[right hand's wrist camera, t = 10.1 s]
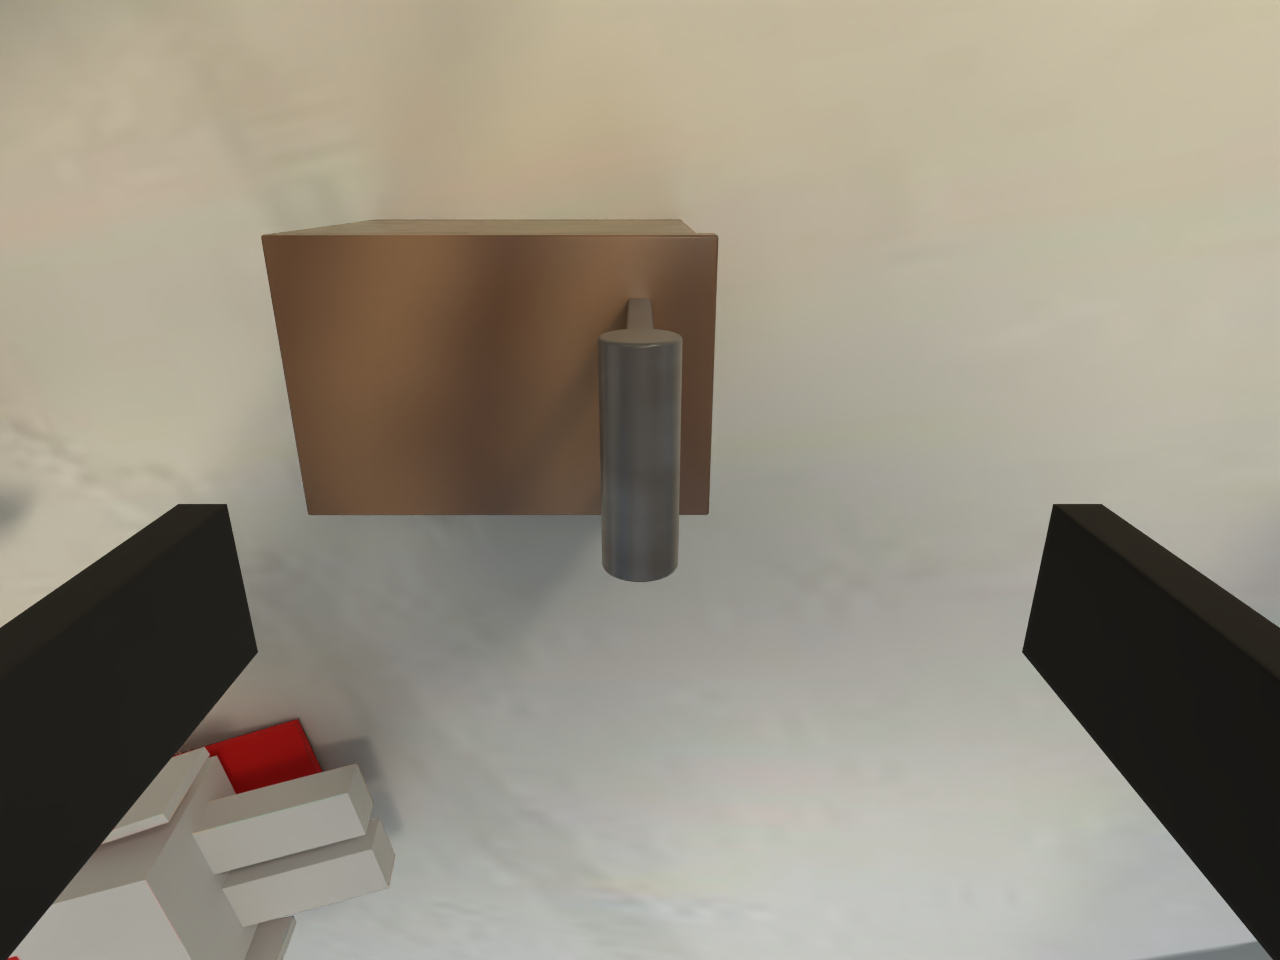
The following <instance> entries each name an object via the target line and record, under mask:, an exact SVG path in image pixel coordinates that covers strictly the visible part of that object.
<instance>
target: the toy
mask: <svg viewBox="0 0 1280 960" xmlns="http://www.w3.org/2000/svg"><path fill="white" fill-rule="evenodd" d="M373 804H374V803H373V801H372V798H371V796H370V793H369V791H368V789H367V786H366V784H365V782H364V779H363V777H362V774H361V772H360V770H359V767H358V765H357V763H355V764H351V765H348V766H344V767H340V768H336V769H332V770H328V771H324V772H323V771H322V769H321V767H320V765H319V763H318V761H317V759H316V757H315V754H314V752H313V750H312V748H311V746H310V744H309V742H308V740H307V737H306V735H305V733H304V731H303V729H302V727H301V725H300V723H299V721H298V719H297V720H293V721H290V722H286V723H283V724H280V725H276V726H273V727H269V728H266V729H262V730H259V731H256V732H252V733H249V734H245V735H242V736H239V737H235V738H232V739H228V740H225V741H222V742H218V743H215V744H211V745H208V746H204V747H201V748H198V749H194V750H191V751H187V752H184V753H181V754H177V755H174V756H173V757H172V758H171V759H170V760H169V762H168V763H167V764H166V765H165V767H164V768H163V769H162V770H161V771H160V773H159V774H158V775H157V776H156V778H155V779H154V780H153V781H152V782H151V784H150V785H149V786H148V787H147V789H146V790H145V791H144V792H143V794H142V795H141V796H140V797H139V798H138V800H137V801H136V802H135V803H134V805H133V806H132V807H131V808H130V809H129V811H128V812H127V813H126V814H125V816H124V817H123V818H122V819H121V820H120V822H119V823H118V824H117V825H116V827H115V828H114V829H113V830H112V832H111V833H110V834H109V835H108V836H107V838H106V839H105V840H104V841H103V843H102V844H101V845H100V846H99V847H98V849H97V850H96V851H95V852H94V854H93V855H92V856H91V857H90V858H89V860H88V861H87V862H86V863H85V865H84V866H83V867H82V868H81V870H80V871H79V872H78V873H77V874H76V876H75V877H74V878H73V879H72V881H71V882H70V883H69V884H68V885H67V887H66V888H65V889H64V890H63V892H62V893H61V894H60V895H59V896H58V898H57V899H56V900H55V901H54V903H53V904H52V905H51V906H50V908H49V909H48V910H47V911H46V912H45V914H44V915H43V916H42V917H41V919H40V920H39V921H38V922H37V923H36V925H35V926H34V927H33V928H32V930H31V931H30V932H29V933H28V934H27V936H26V937H25V938H24V939H23V941H22V942H21V943H20V944H19V946H18V947H17V948H16V949H15V950H14V952H13V953H12V954H11V955H10V957H9V958H8V959H7V960H283V958H284V955H285V952H286V950H287V947H288V944H289V942H290V939H291V936H292V933H293V931H294V928H295V925H296V921H295V918H294V916H289V917H284V916H287V915H291V914H295V913H298V912H302V911H306V910H310V909H313V908H317V907H321V906H324V905H328V904H332V903H336V902H339V901H343V900H347V899H350V898H354V897H358V896H362V895H365V894H369V893H373V892H376V891H380V890H384V889H387V888H389V884H390V879H391V874H392V870H393V865H394V860H395V853H394V851H393V848H392V846H391V844H390V841H389V839H388V836H387V834H386V832H385V829H384V827H383V825H382V822H381V820H380V818H376V819H372V820H369V819H370V816H371V812H372V808H373ZM280 917H284V918H280ZM276 918H278V919H276ZM272 919H273V920H272Z"/></svg>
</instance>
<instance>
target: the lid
mask: <svg viewBox="0 0 1280 960" xmlns="http://www.w3.org/2000/svg"><path fill="white" fill-rule="evenodd" d="M261 239H262V245H263V251H264V256H265V262H266V268H267V274H268V280H269V286H270V292H271V298H272V304H273V310H274V315H275V321H276V327H277V333H278V339H279V345H280V351H281V357H282V363H283V368H284V374H285V380H286V386H287V392H288V398H289V404H290V410H291V416H292V421H293V427H294V433H295V439H296V445H297V451H298V457H299V463H300V469H301V474H302V480H303V486H304V492H305V498H306V504H307V510H308V514H309V515H601V526H602V565H603V567H604V569H605V571H606V572H607V573H609V574H610V575H612V576H613V577H616V578H618V579H621V580H626V581H633V582H647V581H655V580H659V579H662V578H665V577H667V576H669V575H670V574H672V573H673V572H674V571H675V569H676V568H677V565H678V538H679V515H707V514H708V513H709V490H710V461H711V433H712V404H713V376H714V347H715V318H716V290H717V261H718V236H717V235H716V234H714V233H274V234H267V235H262V236H261Z"/></svg>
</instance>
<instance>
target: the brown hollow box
mask: <svg viewBox="0 0 1280 960" xmlns="http://www.w3.org/2000/svg"><path fill="white" fill-rule="evenodd" d="M282 233H696V232H694V231H693V230H692V229H691V228H690V227H689V226H687V225H686V224H685V223H684V222H683V221H682V220H370V221H362V222H355V223H348V224H341V225H333V226H326V227H319V228H311V229H304V230H297V231H289V232H282Z"/></svg>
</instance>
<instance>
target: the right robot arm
mask: <svg viewBox="0 0 1280 960" xmlns="http://www.w3.org/2000/svg"><path fill="white" fill-rule="evenodd" d="M257 653H258V651H257V646H256V641H255V636H254V632H253V627H252V622H251V617H250V613H249V608H248V603H247V598H246V594H245V589H244V584H243V579H242V575H241V570H240V565H239V560H238V556H237V551H236V546H235V541H234V537H233V532H232V527H231V522H230V518H229V513H228V508H227V504H178V505H177V506H175V507H174V508H172V509H171V510H169V511H168V512H166V513H165V514H164V515H162V516H161V517H159V518H158V519H156V520H155V521H154V522H152V523H151V524H149V525H148V526H146V527H145V528H143V529H142V530H141V531H139V532H138V533H136V534H135V535H133V536H132V537H131V538H129V539H128V540H126V541H125V542H123V543H122V544H120V545H119V546H118V547H116V548H115V549H113V550H112V551H110V552H109V553H107V554H106V555H105V556H103V557H102V558H100V559H99V560H97V561H96V562H95V563H93V564H92V565H90V566H89V567H87V568H86V569H84V570H83V571H82V572H80V573H79V574H77V575H76V576H74V577H73V578H71V579H70V580H69V581H67V582H66V583H64V584H63V585H61V586H60V587H59V588H57V589H56V590H54V591H53V592H51V593H50V594H48V595H47V596H46V597H44V598H43V599H41V600H40V601H38V602H37V603H35V604H34V605H33V606H31V607H30V608H28V609H27V610H25V611H24V612H23V613H21V614H20V615H18V616H17V617H15V618H14V619H12V620H11V621H10V622H8V623H7V624H5V625H4V626H2V627H1V628H0V960H7V959H8V958H9V957H10V955H11V954H12V953H13V952H14V950H15V949H16V948H17V947H18V946H19V944H20V943H21V942H22V941H23V939H24V938H25V937H26V936H27V934H28V933H29V932H30V931H31V930H32V928H33V927H34V926H35V925H36V923H37V922H38V921H39V920H40V919H41V917H42V916H43V915H44V914H45V912H46V911H47V910H48V909H49V908H50V906H51V905H52V904H53V903H54V901H55V900H56V899H57V898H58V896H59V895H60V894H61V893H62V892H63V890H64V889H65V888H66V887H67V885H68V884H69V883H70V882H71V881H72V879H73V878H74V877H75V876H76V874H77V873H78V872H79V871H80V870H81V868H82V867H83V866H84V865H85V863H86V862H87V861H88V860H89V858H90V857H91V856H92V855H93V854H94V852H95V851H96V850H97V849H98V847H99V846H100V845H101V844H102V843H103V841H104V840H105V839H106V838H107V836H108V835H109V834H110V833H111V832H112V830H113V829H114V828H115V827H116V825H117V824H118V823H119V822H120V820H121V819H122V818H123V817H124V816H125V814H126V813H127V812H128V811H129V809H130V808H131V807H132V806H133V805H134V803H135V802H136V801H137V800H138V798H139V797H140V796H141V795H142V794H143V792H144V791H145V790H146V789H147V787H148V786H149V785H150V784H151V782H152V781H153V780H154V779H155V778H156V776H157V775H158V774H159V773H160V771H161V770H162V769H163V768H164V767H165V765H166V764H167V763H168V762H169V760H170V759H171V758H172V757H173V756H174V754H175V753H176V752H177V751H178V749H179V748H180V747H181V746H182V744H183V743H184V742H185V741H186V740H187V738H188V737H189V736H190V735H191V733H192V732H193V731H194V730H195V729H196V727H197V726H198V725H199V724H200V722H201V721H202V720H203V719H204V718H205V716H206V715H207V714H208V713H209V711H210V710H211V709H212V708H213V706H214V705H215V704H216V703H217V702H218V700H219V699H220V698H221V697H222V695H223V694H224V693H225V692H226V691H227V689H228V688H229V687H230V686H231V684H232V683H233V682H234V681H235V680H236V678H237V677H238V676H239V675H240V673H241V672H242V671H243V670H244V668H245V667H246V666H247V665H248V664H249V662H250V661H251V660H252V659H253V657H254V656H255V655H256V654H257ZM1022 653H1023V654H1024V655H1025V656H1026V657H1027V659H1028V660H1029V661H1030V662H1031V664H1032V665H1033V666H1034V667H1035V668H1036V670H1037V671H1038V672H1039V673H1040V675H1041V676H1042V677H1043V678H1044V680H1045V681H1046V682H1047V683H1048V684H1049V686H1050V687H1051V688H1052V689H1053V691H1054V692H1055V693H1056V694H1057V695H1058V697H1059V698H1060V699H1061V700H1062V702H1063V703H1064V704H1065V705H1066V706H1067V708H1068V709H1069V710H1070V711H1071V713H1072V714H1073V715H1074V716H1075V718H1076V719H1077V720H1078V721H1079V722H1080V724H1081V725H1082V726H1083V727H1084V729H1085V730H1086V731H1087V732H1088V733H1089V735H1090V736H1091V737H1092V738H1093V740H1094V741H1095V742H1096V743H1097V744H1098V746H1099V747H1100V748H1101V749H1102V751H1103V752H1104V753H1105V754H1106V756H1107V757H1108V758H1109V759H1110V760H1111V762H1112V763H1113V764H1114V765H1115V767H1116V768H1117V769H1118V770H1119V771H1120V773H1121V774H1122V775H1123V776H1124V778H1125V779H1126V780H1127V781H1128V782H1129V784H1130V785H1131V786H1132V787H1133V789H1134V790H1135V791H1136V792H1137V794H1138V795H1139V796H1140V797H1141V798H1142V800H1143V801H1144V802H1145V803H1146V805H1147V806H1148V807H1149V808H1150V809H1151V811H1152V812H1153V813H1154V814H1155V816H1156V817H1157V818H1158V819H1159V820H1160V822H1161V823H1162V824H1163V825H1164V827H1165V828H1166V829H1167V830H1168V832H1169V833H1170V834H1171V835H1172V836H1173V838H1174V839H1175V840H1176V841H1177V843H1178V844H1179V845H1180V846H1181V847H1182V849H1183V850H1184V851H1185V852H1186V854H1187V855H1188V856H1189V857H1190V858H1191V860H1192V861H1193V862H1194V863H1195V865H1196V866H1197V867H1198V868H1199V870H1200V871H1201V872H1202V873H1203V874H1204V876H1205V877H1206V878H1207V879H1208V881H1209V882H1210V883H1211V884H1212V885H1213V887H1214V888H1215V889H1216V890H1217V892H1218V893H1219V894H1220V895H1221V896H1222V898H1223V899H1224V900H1225V901H1226V903H1227V904H1228V905H1229V906H1230V908H1231V909H1232V910H1233V911H1234V912H1235V914H1236V915H1237V916H1238V917H1239V919H1240V920H1241V921H1242V922H1243V923H1244V925H1245V926H1246V927H1247V928H1248V930H1249V931H1250V932H1251V933H1252V934H1253V936H1254V937H1255V938H1256V939H1257V941H1258V942H1259V943H1260V944H1261V946H1262V947H1263V948H1264V949H1265V950H1266V952H1267V953H1268V954H1269V955H1270V957H1271V958H1272V959H1273V960H1280V628H1279V627H1278V626H1276V625H1275V624H1273V623H1272V622H1270V621H1269V620H1268V619H1266V618H1265V617H1263V616H1262V615H1260V614H1259V613H1257V612H1256V611H1255V610H1253V609H1252V608H1250V607H1249V606H1247V605H1246V604H1245V603H1243V602H1242V601H1240V600H1239V599H1237V598H1236V597H1234V596H1233V595H1232V594H1230V593H1229V592H1227V591H1226V590H1224V589H1223V588H1221V587H1220V586H1219V585H1217V584H1216V583H1214V582H1213V581H1211V580H1210V579H1209V578H1207V577H1206V576H1204V575H1203V574H1201V573H1200V572H1198V571H1197V570H1196V569H1194V568H1193V567H1191V566H1190V565H1188V564H1187V563H1185V562H1184V561H1183V560H1181V559H1180V558H1178V557H1177V556H1175V555H1174V554H1173V553H1171V552H1170V551H1168V550H1167V549H1165V548H1164V547H1162V546H1161V545H1160V544H1158V543H1157V542H1155V541H1154V540H1152V539H1151V538H1149V537H1148V536H1147V535H1145V534H1144V533H1142V532H1141V531H1139V530H1138V529H1137V528H1135V527H1134V526H1132V525H1131V524H1129V523H1128V522H1126V521H1125V520H1124V519H1122V518H1121V517H1119V516H1118V515H1116V514H1115V513H1113V512H1112V511H1111V510H1109V509H1108V508H1106V507H1105V506H1103V505H1102V504H1053V508H1052V513H1051V518H1050V522H1049V527H1048V532H1047V537H1046V541H1045V546H1044V551H1043V556H1042V560H1041V565H1040V570H1039V575H1038V579H1037V584H1036V589H1035V594H1034V598H1033V603H1032V608H1031V613H1030V617H1029V622H1028V627H1027V632H1026V636H1025V641H1024V646H1023V651H1022Z"/></svg>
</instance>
